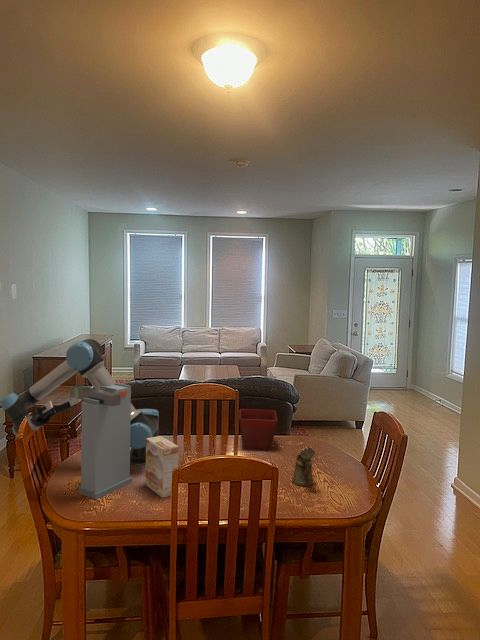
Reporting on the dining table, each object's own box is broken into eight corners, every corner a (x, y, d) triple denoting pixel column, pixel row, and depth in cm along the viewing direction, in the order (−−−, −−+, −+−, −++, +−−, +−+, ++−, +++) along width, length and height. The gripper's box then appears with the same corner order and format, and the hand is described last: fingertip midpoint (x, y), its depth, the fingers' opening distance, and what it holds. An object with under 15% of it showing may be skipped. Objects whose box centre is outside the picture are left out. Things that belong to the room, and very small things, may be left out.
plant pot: (276, 453, 232) (277, 420, 231) (238, 451, 232) (239, 418, 231) (274, 440, 251) (275, 409, 250) (238, 439, 251) (239, 408, 250)
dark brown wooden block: (69, 397, 186) (69, 386, 186) (78, 395, 189) (78, 385, 189) (112, 406, 173) (112, 395, 173) (120, 404, 177) (120, 393, 177)
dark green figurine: (295, 491, 188) (297, 448, 187) (290, 477, 202) (292, 437, 201) (317, 491, 189) (319, 448, 188) (310, 477, 202) (312, 437, 201)
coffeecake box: (144, 484, 190) (145, 438, 189) (160, 480, 195) (161, 435, 193) (161, 498, 179) (162, 448, 177) (178, 493, 183) (179, 445, 182)
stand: (78, 492, 181) (78, 390, 178) (115, 476, 197) (116, 382, 194) (95, 499, 176) (96, 393, 173) (132, 482, 192) (133, 385, 189)
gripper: (65, 420, 211) (93, 403, 200) (13, 434, 190) (41, 416, 179) (59, 404, 212) (87, 387, 202) (8, 416, 191) (35, 398, 181)
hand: (65, 400), depth 190 cm, fingers open, 13 cm apart
